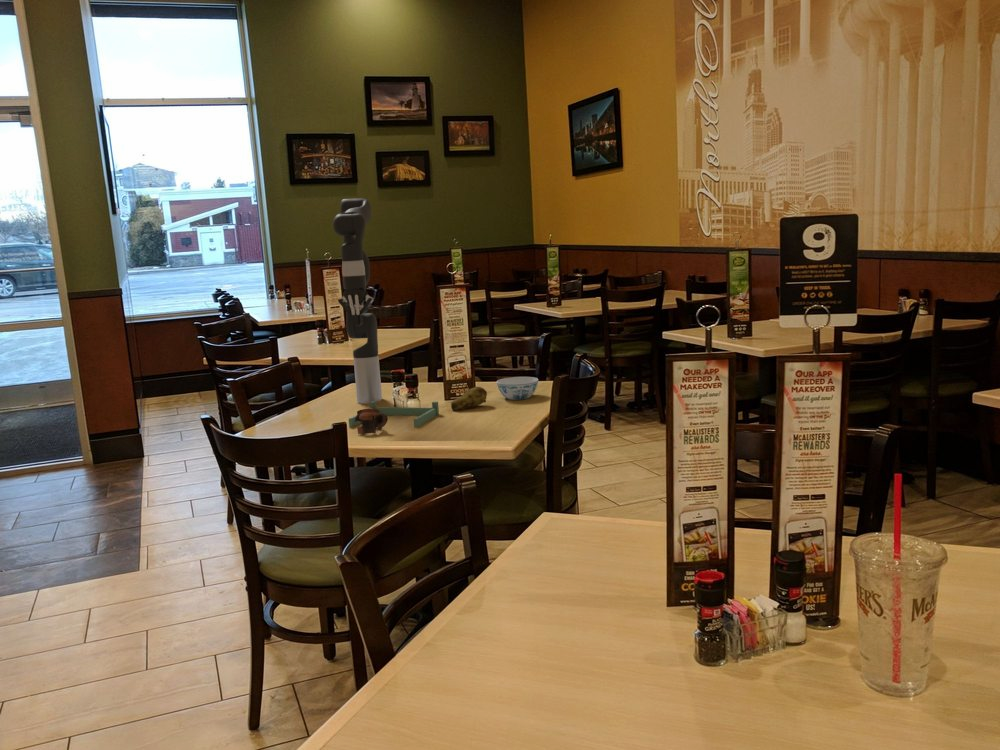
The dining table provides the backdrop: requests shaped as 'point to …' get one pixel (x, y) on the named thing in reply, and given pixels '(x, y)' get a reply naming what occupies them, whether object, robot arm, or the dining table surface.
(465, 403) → the olive green tapered lump
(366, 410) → the pottery mug
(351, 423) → the teal bars
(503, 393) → the chinaware
